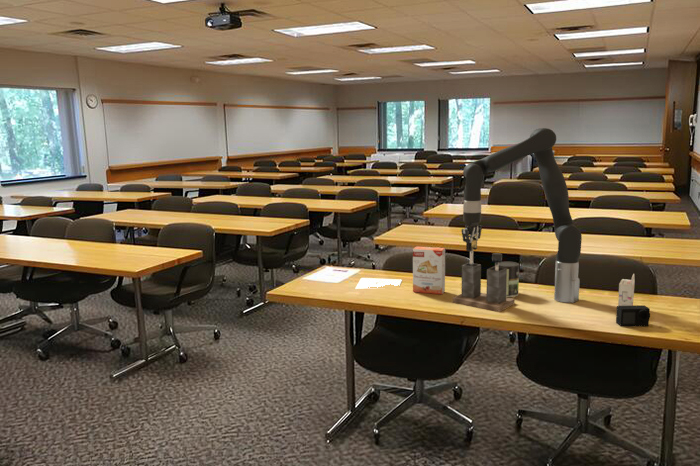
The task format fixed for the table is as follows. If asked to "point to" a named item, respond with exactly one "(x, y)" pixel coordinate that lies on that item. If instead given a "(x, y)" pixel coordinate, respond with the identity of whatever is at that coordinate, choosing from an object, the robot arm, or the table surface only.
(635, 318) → the digital camera
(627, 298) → the ink cartridge box
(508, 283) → the coffee can
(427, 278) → the cracker box
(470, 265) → the plunger brass
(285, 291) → the table surface
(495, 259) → the plunger black
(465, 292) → the stand
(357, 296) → the table surface
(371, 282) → the paper sheet
